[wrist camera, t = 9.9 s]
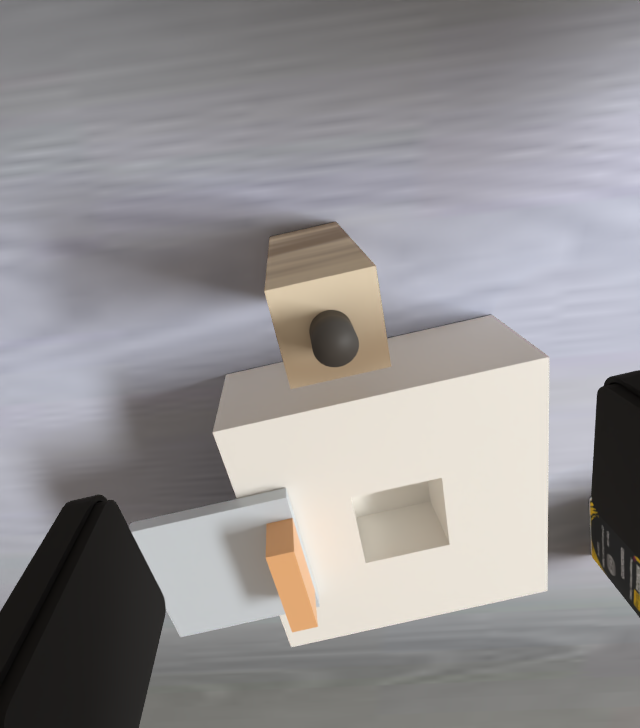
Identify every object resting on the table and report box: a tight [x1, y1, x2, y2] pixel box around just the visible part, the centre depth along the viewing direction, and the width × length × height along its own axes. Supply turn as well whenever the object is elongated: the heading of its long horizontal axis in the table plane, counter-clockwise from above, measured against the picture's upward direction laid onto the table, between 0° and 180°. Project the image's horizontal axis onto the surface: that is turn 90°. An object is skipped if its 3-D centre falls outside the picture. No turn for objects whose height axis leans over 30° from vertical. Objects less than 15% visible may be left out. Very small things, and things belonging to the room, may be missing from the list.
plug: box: [264, 222, 391, 389], centre depth 22 cm, size 4×4×14 cm
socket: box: [213, 315, 549, 647], centre depth 31 cm, size 18×18×7 cm
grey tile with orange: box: [129, 488, 320, 637], centre depth 26 cm, size 9×9×3 cm
